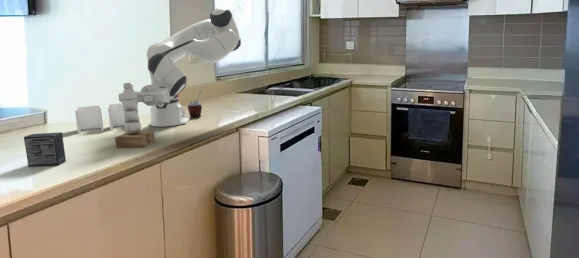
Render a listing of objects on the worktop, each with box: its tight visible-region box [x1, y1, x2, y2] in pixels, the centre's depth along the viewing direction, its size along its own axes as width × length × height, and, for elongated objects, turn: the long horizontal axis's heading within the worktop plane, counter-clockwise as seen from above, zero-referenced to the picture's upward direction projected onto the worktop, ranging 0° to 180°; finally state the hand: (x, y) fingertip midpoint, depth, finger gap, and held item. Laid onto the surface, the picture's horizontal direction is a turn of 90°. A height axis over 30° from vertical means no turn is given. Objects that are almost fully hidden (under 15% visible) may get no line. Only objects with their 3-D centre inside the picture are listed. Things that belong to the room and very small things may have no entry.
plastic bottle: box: [121, 82, 142, 134], centre depth 187 cm, size 6×7×20 cm
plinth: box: [114, 130, 156, 149], centre depth 189 cm, size 11×11×4 cm
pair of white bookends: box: [74, 102, 125, 135], centre depth 226 cm, size 25×11×11 cm, turn 111°
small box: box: [23, 131, 67, 168], centre depth 164 cm, size 11×6×10 cm, turn 92°
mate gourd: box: [187, 88, 204, 119], centre depth 248 cm, size 8×8×15 cm
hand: (132, 99), depth 188 cm, fingers open, 8 cm apart
